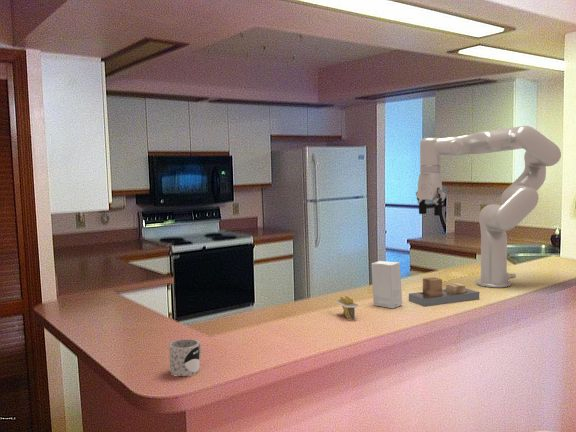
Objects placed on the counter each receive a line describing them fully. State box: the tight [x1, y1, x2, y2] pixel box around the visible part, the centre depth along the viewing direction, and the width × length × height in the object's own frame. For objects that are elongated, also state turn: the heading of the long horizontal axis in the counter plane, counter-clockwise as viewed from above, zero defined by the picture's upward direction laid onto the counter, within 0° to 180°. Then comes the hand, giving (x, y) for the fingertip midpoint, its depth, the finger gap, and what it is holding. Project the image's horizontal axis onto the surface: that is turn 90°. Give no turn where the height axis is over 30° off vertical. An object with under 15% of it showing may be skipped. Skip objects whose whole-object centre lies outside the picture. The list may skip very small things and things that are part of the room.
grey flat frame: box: [408, 287, 480, 307], centre depth 185 cm, size 23×9×2 cm, turn 111°
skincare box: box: [371, 260, 403, 309], centre depth 178 cm, size 8×6×15 cm
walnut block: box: [422, 276, 443, 297], centre depth 183 cm, size 5×5×8 cm
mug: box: [168, 338, 202, 377], centre depth 123 cm, size 10×7×7 cm, turn 158°
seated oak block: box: [445, 282, 466, 294], centre depth 186 cm, size 5×5×5 cm
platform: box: [336, 295, 359, 320], centre depth 165 cm, size 12×18×7 cm, turn 18°
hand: (430, 214), depth 204 cm, fingers open, 9 cm apart
